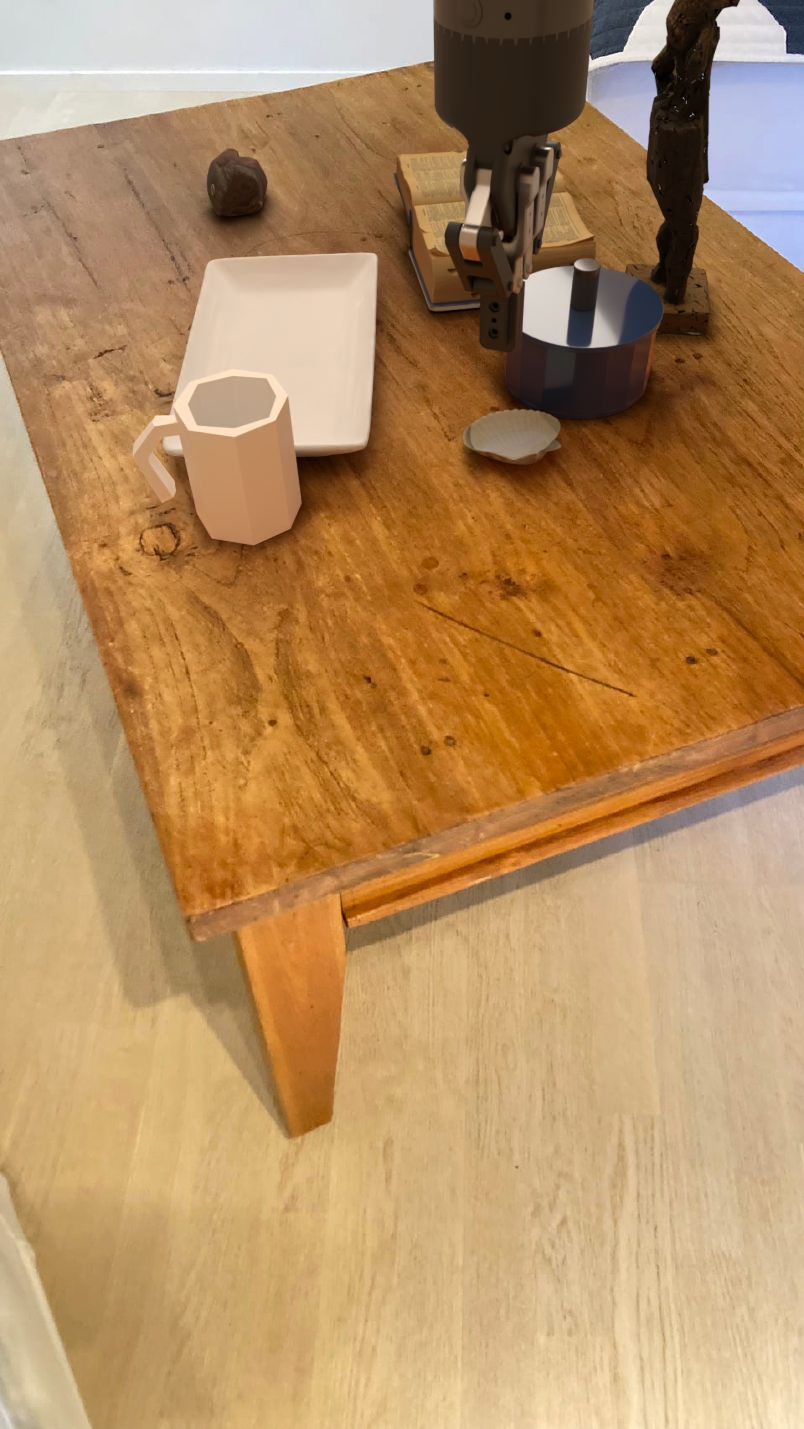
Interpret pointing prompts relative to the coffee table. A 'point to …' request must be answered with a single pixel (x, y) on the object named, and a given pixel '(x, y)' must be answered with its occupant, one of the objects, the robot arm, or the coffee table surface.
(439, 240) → the book
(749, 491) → the coffee table surface
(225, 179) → the dark brown rock
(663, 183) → the sculpture
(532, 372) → the pot
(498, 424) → the seashell
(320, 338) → the white slab
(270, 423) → the mug
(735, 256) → the coffee table surface
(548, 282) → the pot lid
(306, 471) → the coffee table surface
